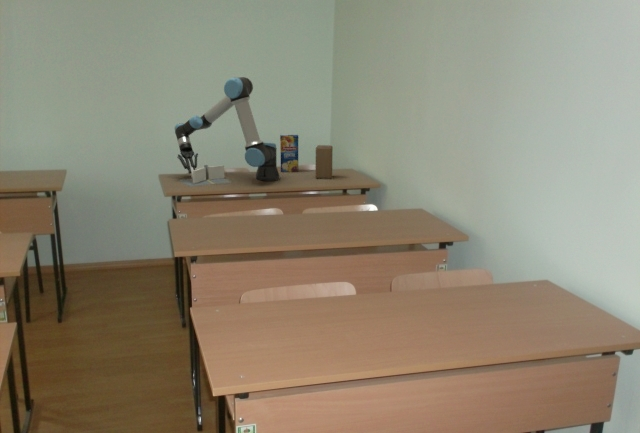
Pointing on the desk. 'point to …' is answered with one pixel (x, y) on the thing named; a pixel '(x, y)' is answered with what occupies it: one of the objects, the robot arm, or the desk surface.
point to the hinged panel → (199, 175)
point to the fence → (214, 172)
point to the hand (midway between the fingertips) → (193, 177)
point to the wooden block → (324, 161)
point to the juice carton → (289, 153)
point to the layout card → (205, 182)
